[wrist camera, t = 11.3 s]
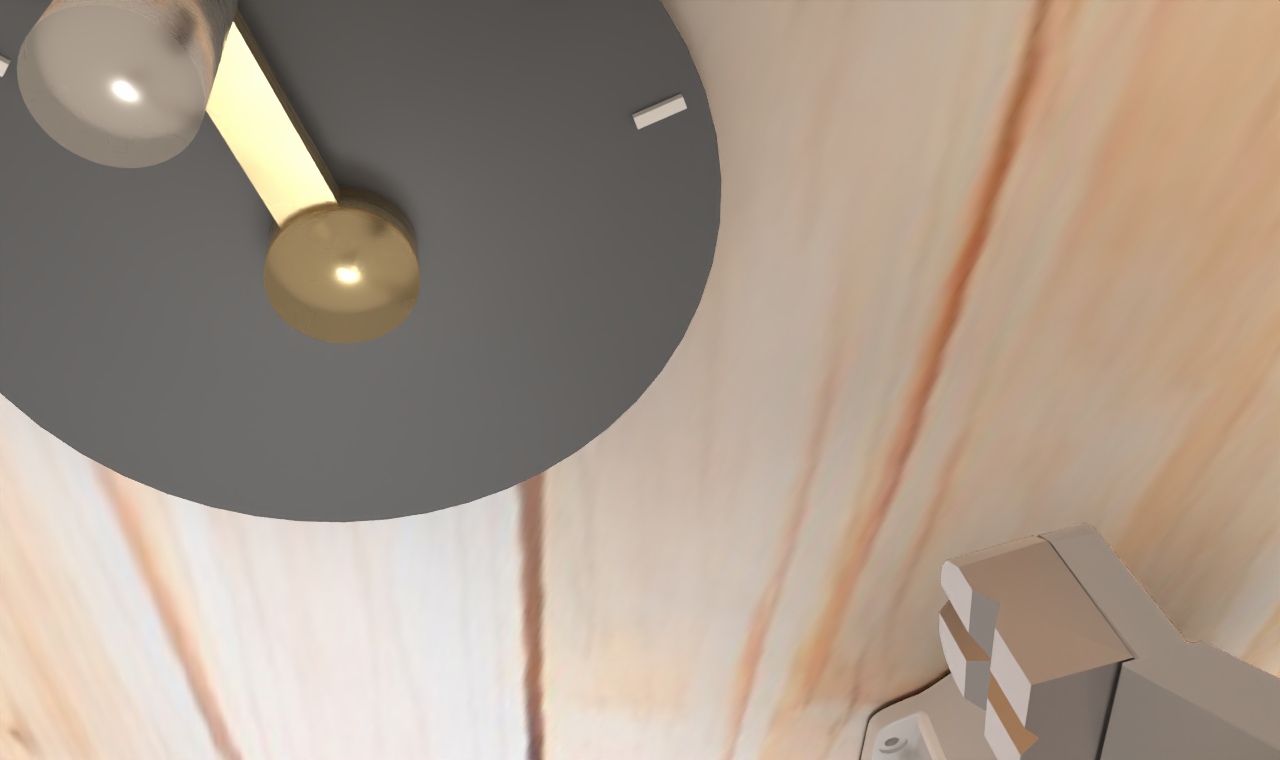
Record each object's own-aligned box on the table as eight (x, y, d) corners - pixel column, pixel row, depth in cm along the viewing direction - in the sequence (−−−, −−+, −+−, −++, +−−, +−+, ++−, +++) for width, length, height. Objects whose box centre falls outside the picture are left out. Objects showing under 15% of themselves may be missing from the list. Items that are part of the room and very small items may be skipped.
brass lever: (440, 281, 33) (456, 447, 26) (313, 329, 33) (299, 505, 27) (201, -174, 24) (141, -84, 18) (27, -106, 24) (-92, 6, 18)
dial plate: (642, 490, 43) (650, 519, 41) (-5, 499, 36) (-19, 534, 35) (789, -130, 29) (810, -115, 27) (-220, -291, 22) (-258, -281, 21)
